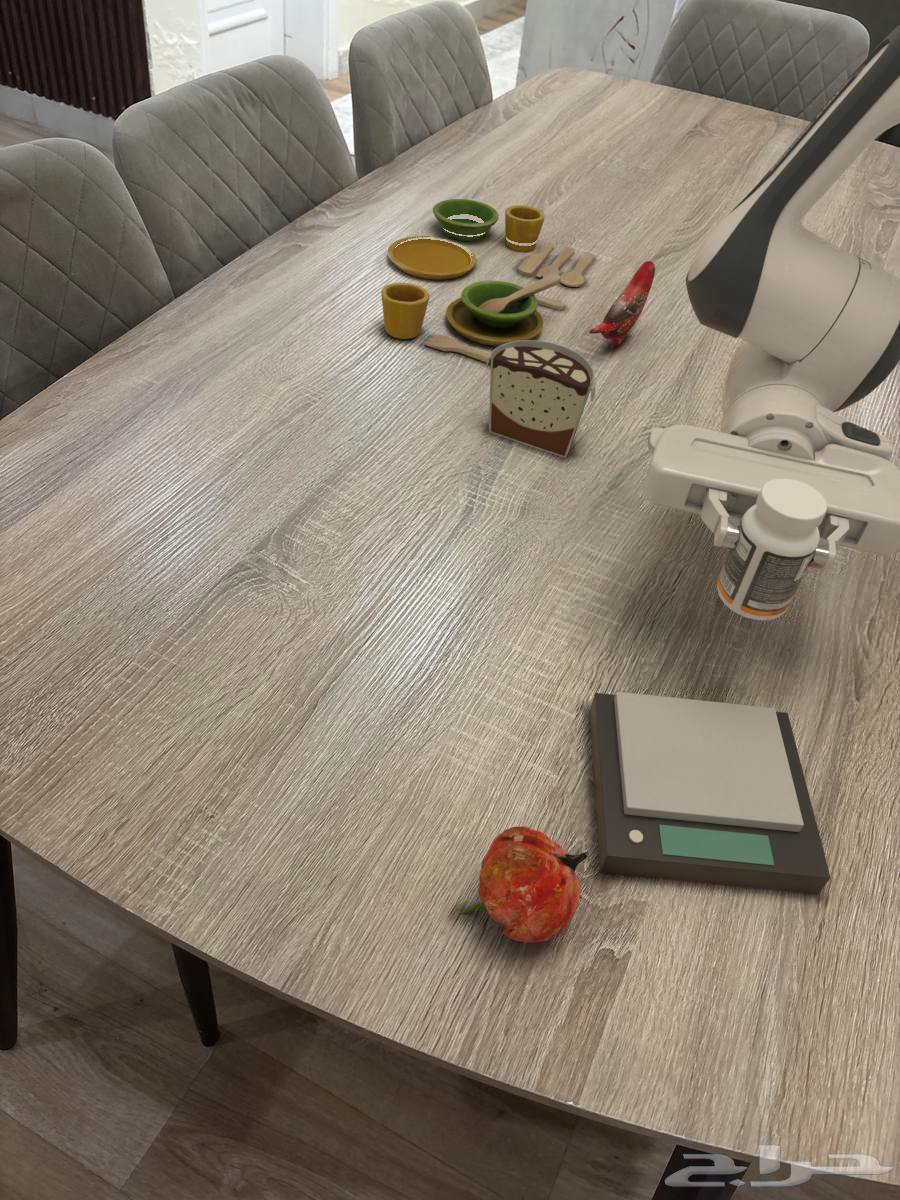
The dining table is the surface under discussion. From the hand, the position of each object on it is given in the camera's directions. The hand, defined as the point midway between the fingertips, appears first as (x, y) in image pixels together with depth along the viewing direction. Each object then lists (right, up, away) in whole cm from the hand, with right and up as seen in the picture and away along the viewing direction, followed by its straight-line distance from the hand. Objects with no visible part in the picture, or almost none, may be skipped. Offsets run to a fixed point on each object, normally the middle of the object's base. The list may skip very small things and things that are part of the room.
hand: (774, 552), depth 69 cm
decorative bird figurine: (-3, +29, +54) cm, 61 cm away
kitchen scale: (-5, -19, +4) cm, 20 cm away
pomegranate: (-19, -25, -4) cm, 32 cm away
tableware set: (-21, +41, +64) cm, 78 cm away
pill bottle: (0, -3, +5) cm, 6 cm away
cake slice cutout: (-14, +15, +39) cm, 44 cm away
